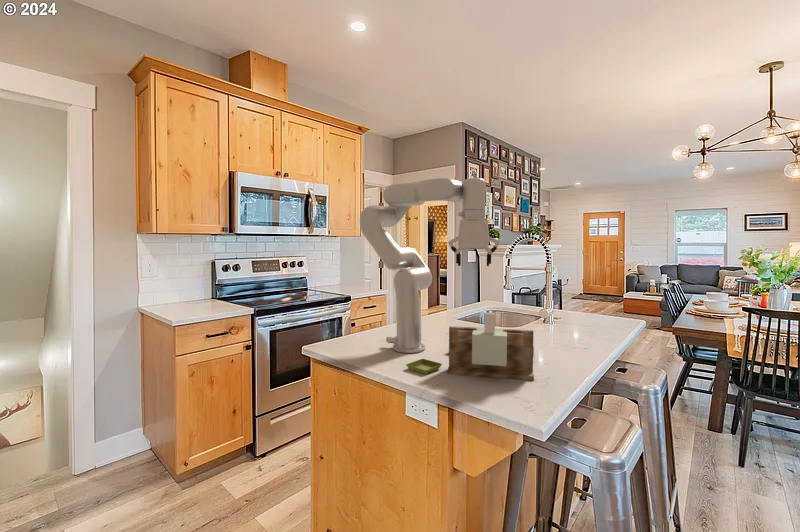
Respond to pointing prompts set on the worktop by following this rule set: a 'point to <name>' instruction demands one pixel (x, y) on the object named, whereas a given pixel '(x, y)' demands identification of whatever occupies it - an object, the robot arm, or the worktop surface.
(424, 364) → the olive green square tray
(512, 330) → the wall board
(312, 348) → the worktop surface
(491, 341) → the pale green stepped block
